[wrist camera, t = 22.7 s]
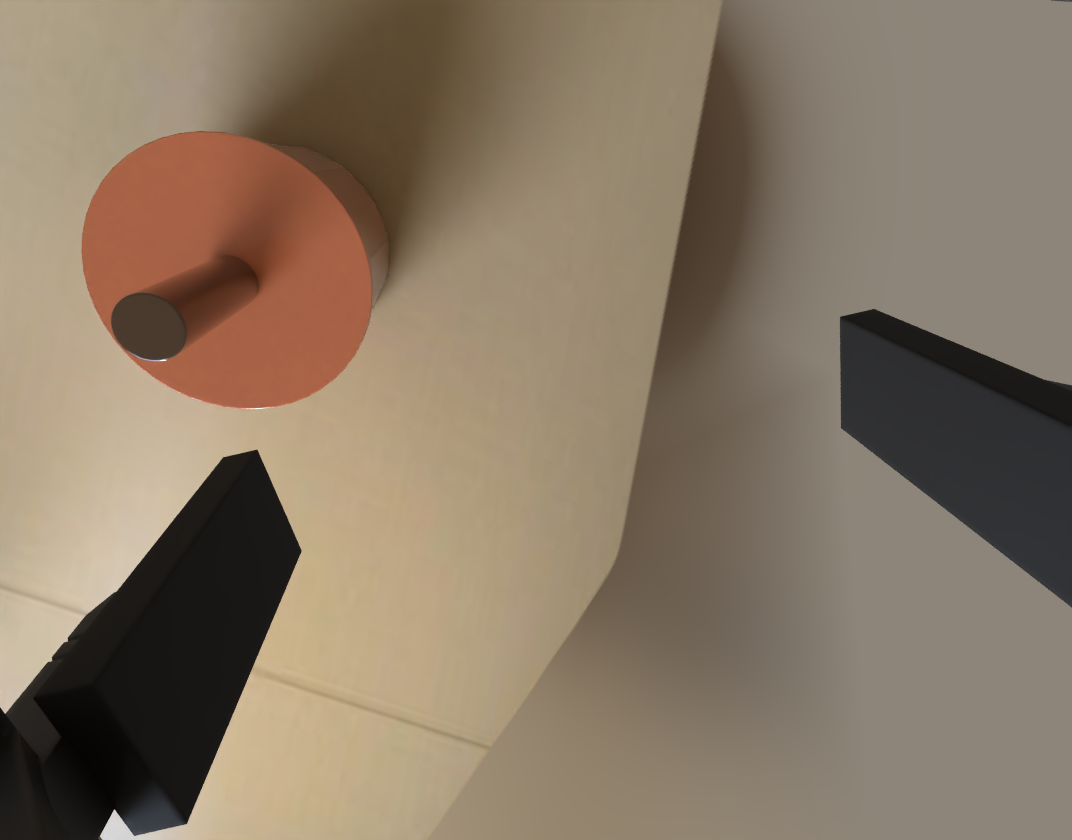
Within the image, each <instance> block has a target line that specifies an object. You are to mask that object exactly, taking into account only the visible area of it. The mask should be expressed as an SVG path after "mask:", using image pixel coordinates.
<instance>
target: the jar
mask: <svg viewBox="0 0 1072 840" xmlns="http://www.w3.org/2000/svg"><path fill="white" fill-rule="evenodd" d="M267 144H268V143H267ZM269 145H272V146H274V147H276V148H278V149H280V150H283V151H284V152H286V153H288V154H289V155H291V156H293V157H294V158H296V159H298V160H299V161H301V162H302V163H304V164H305V165H306V166H307V167H309V168H310V169H311V170H313V171H314V172H315V173H316V174H318V175H319V176H320V177H321V178H322V179H323V180H324V181H325V182H326V183H327V184H328V185H329V186H330V187H331V188H332V189H333V190H334V192H335V193H336V194H337V195H338V197H339V198H340V199H341V200H342V202H343V203H344V204H345V206H346V207H347V209H348V210H349V212H350V214H351V215H352V217H353V218H354V220H355V222H356V224H357V226H358V228H359V230H360V232H361V234H362V237H363V239H364V242H365V245H366V248H367V251H368V254H369V258H370V263H371V268H372V273H373V288H374V294H373V307H372V309H373V308H374V306H375V303H376V301H377V299H378V297H379V295H380V293H381V291H382V288H383V286H384V284H385V281H386V279H387V276H388V264H389V244H388V236H387V232H386V229H385V225H384V222H383V219H382V217H381V214H380V212H379V210H378V208H377V206H376V204H375V202H374V201H373V199H372V198H371V196H370V194H369V193H368V192H367V191H366V189H365V188H364V187H363V185H362V184H361V183H360V182H359V181H358V180H357V179H356V178H355V177H354V176H353V175H352V174H351V173H350V172H349V171H348V170H347V169H345V168H344V167H342V166H341V165H339V164H338V163H336V162H334V161H333V160H331V159H329V158H328V157H325V156H323V155H321V154H319V153H317V152H314V151H312V150H311V149H308V148H305V147H296V146H287V145H278V144H269Z"/></svg>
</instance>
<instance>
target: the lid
mask: <svg viewBox="0 0 1072 840" xmlns="http://www.w3.org/2000/svg"><path fill="white" fill-rule="evenodd" d="M82 261H83V270H84V275H85V279H86V283H87V288H88V291H89V293H90V296H91V299H92V301H93V304H94V307H95V309H96V310H97V312H98V314H99V316H100V318H101V320H102V322H103V324H104V325H105V327H106V328H107V330H108V331H109V333H110V334H111V336H112V337H113V339H114V340H115V341H116V342H117V344H118V345H119V346H120V347H121V348H122V349H123V351H124V352H125V353H126V354H127V355H128V356H129V357H130V358H131V359H132V360H133V361H134V362H135V363H136V364H137V365H139V366H140V367H141V368H142V369H143V370H145V371H146V372H147V373H149V374H150V375H151V376H152V377H154V378H155V379H157V380H158V381H160V382H161V383H163V384H165V385H166V386H168V387H170V388H171V389H173V390H175V391H178V392H180V393H182V394H184V395H186V396H188V397H191V398H194V399H197V400H199V401H202V402H205V403H209V404H213V405H218V406H222V407H229V408H238V409H262V408H271V407H277V406H281V405H285V404H289V403H293V402H295V401H298V400H300V399H303V398H306V397H308V396H310V395H311V394H313V393H315V392H317V391H319V390H320V389H322V388H323V387H325V386H326V385H327V384H329V383H330V382H331V381H333V380H334V379H335V378H336V377H337V376H338V375H339V374H340V373H341V372H342V371H343V370H344V369H345V368H346V366H347V365H348V364H349V362H350V361H351V360H352V358H353V357H354V356H355V354H356V352H357V350H358V348H359V346H360V345H361V343H362V341H363V339H364V336H365V333H366V331H367V328H368V325H369V322H370V317H371V312H372V307H373V294H374V288H373V273H372V268H371V263H370V258H369V254H368V251H367V248H366V245H365V242H364V239H363V237H362V234H361V232H360V230H359V228H358V226H357V224H356V222H355V220H354V218H353V217H352V215H351V214H350V212H349V210H348V209H347V207H346V206H345V204H344V203H343V202H342V200H341V199H340V198H339V197H338V195H337V194H336V193H335V192H334V190H333V189H332V188H331V187H330V186H329V185H328V184H327V183H326V182H325V181H324V180H323V179H322V178H321V177H320V176H319V175H318V174H316V173H315V172H314V171H313V170H311V169H310V168H309V167H307V166H306V165H305V164H304V163H302V162H301V161H299V160H298V159H296V158H294V157H293V156H291V155H289V154H288V153H286V152H284V151H283V150H280V149H278V148H276V147H274V146H272V145H269V144H267V143H265V142H262V141H259V140H256V139H252V138H249V137H246V136H242V135H236V134H230V133H225V132H205V131H198V132H187V133H179V134H175V135H171V136H167V137H163V138H160V139H157V140H155V141H152V142H150V143H148V144H145V145H143V146H141V147H140V148H138V149H136V150H135V151H133V152H132V153H130V154H128V155H127V156H126V157H125V158H123V159H122V160H121V161H120V162H119V163H118V164H117V165H115V166H114V167H113V168H112V170H111V171H110V172H109V173H108V174H107V176H106V177H105V178H104V179H103V181H102V182H101V184H100V185H99V187H98V189H97V191H96V192H95V194H94V196H93V198H92V200H91V203H90V206H89V208H88V211H87V214H86V218H85V223H84V228H83V233H82Z"/></svg>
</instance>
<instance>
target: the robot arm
mask: <svg viewBox="0 0 1072 840" xmlns="http://www.w3.org/2000/svg"><path fill="white" fill-rule="evenodd" d="M840 359H841V428H842V429H843V430H844V431H846V432H847V433H848V434H849V435H851V436H852V437H853V438H855V439H856V440H857V441H859V442H860V443H861V444H863V445H864V446H865V447H866V448H867V449H869V450H870V451H871V452H873V453H874V454H875V455H876V456H878V457H879V458H881V459H882V460H883V461H884V462H885V463H887V464H888V465H890V466H891V467H892V468H893V469H894V470H896V471H897V472H898V473H900V474H901V475H902V476H904V477H905V478H906V479H907V480H909V481H910V482H911V483H913V484H914V485H915V486H916V487H918V488H919V489H920V490H921V491H923V492H924V493H926V494H927V495H928V496H929V497H931V498H932V499H933V500H934V501H936V502H937V503H938V504H940V505H941V506H942V507H943V508H945V509H946V510H947V511H949V512H950V513H951V514H952V515H954V516H955V517H956V518H958V519H959V520H960V521H961V522H963V523H964V524H965V525H967V526H968V527H969V528H971V529H972V530H973V531H974V532H976V533H977V534H978V535H979V536H981V537H982V538H983V539H985V540H986V541H987V542H989V543H990V544H991V545H992V546H994V547H995V548H996V549H997V550H999V551H1000V552H1001V553H1003V554H1004V555H1005V556H1006V557H1008V558H1009V559H1010V560H1012V561H1013V562H1014V563H1015V564H1017V565H1018V566H1019V567H1021V568H1022V569H1023V570H1025V571H1026V572H1027V573H1028V574H1030V575H1031V576H1032V577H1033V578H1035V579H1036V580H1037V581H1039V582H1040V583H1041V584H1042V585H1044V586H1045V587H1046V588H1048V589H1049V590H1050V591H1051V592H1053V593H1054V594H1055V595H1057V596H1058V597H1059V598H1061V599H1062V600H1063V601H1064V602H1066V603H1067V604H1068V605H1070V606H1071V607H1072V386H1071V385H1067V384H1062V383H1057V382H1052V381H1047V380H1043V379H1041V378H1038V377H1036V376H1034V375H1031V374H1029V373H1026V372H1024V371H1022V370H1019V369H1017V368H1014V367H1012V366H1010V365H1007V364H1005V363H1002V362H1000V361H998V360H995V359H993V358H990V357H988V356H986V355H983V354H981V353H978V352H976V351H974V350H971V349H969V348H966V347H964V346H962V345H959V344H957V343H954V342H952V341H950V340H947V339H945V338H942V337H939V336H938V335H935V334H933V333H930V332H928V331H926V330H923V329H920V328H918V327H916V326H914V325H911V324H909V323H906V322H904V321H902V320H899V319H897V318H894V317H892V316H890V315H887V314H885V313H882V312H880V311H877V310H875V309H872V310H868V311H864V312H859V313H855V314H850V315H846V316H842V317H840ZM300 554H301V548H300V546H299V544H298V541H297V539H296V537H295V535H294V532H293V530H292V528H291V525H290V523H289V521H288V519H287V516H286V514H285V512H284V510H283V507H282V505H281V503H280V500H279V498H278V496H277V494H276V491H275V489H274V487H273V484H272V482H271V480H270V478H269V475H268V473H267V471H266V468H265V466H264V464H263V462H262V459H261V457H260V455H259V452H258V450H254V451H249V452H245V453H241V454H236V455H232V456H227V457H223V458H222V460H221V461H220V462H219V464H218V465H217V466H216V467H215V469H214V470H213V471H212V472H211V474H210V475H209V476H208V477H207V479H206V480H205V481H204V482H203V484H202V485H201V486H200V487H199V489H198V490H197V491H196V492H195V494H194V495H193V496H192V498H191V499H190V500H189V501H188V503H187V504H186V505H185V506H184V508H183V509H182V510H181V511H180V513H179V514H178V515H177V516H176V518H175V519H174V520H173V521H172V523H171V524H170V525H169V526H168V528H167V529H166V530H165V532H164V533H163V534H162V535H161V537H160V538H159V539H158V540H157V542H156V543H155V544H154V545H153V547H152V548H151V549H150V550H149V552H148V553H147V554H146V555H145V557H144V558H143V559H142V560H141V562H140V563H139V564H138V565H137V567H136V568H135V569H134V571H133V572H132V573H131V574H130V576H129V577H128V578H127V579H126V581H125V582H124V583H123V584H122V586H121V587H120V588H119V589H118V591H117V592H115V593H113V594H112V595H111V596H109V597H108V598H107V599H106V600H104V601H103V602H102V603H101V604H99V605H98V606H97V607H96V608H95V609H93V610H92V611H91V612H90V613H88V614H87V615H86V616H85V617H84V619H83V620H82V621H81V622H80V624H79V625H78V626H77V627H76V628H75V630H74V631H73V632H72V633H71V635H70V636H69V637H68V642H65V643H63V644H62V645H61V647H60V648H59V649H58V650H57V652H56V653H55V654H54V655H53V656H52V661H51V662H48V663H47V664H46V665H45V666H44V667H43V669H42V670H41V671H40V672H39V674H38V675H37V676H36V677H35V678H34V680H33V681H32V682H31V683H30V685H29V686H28V687H27V688H26V689H25V691H24V692H23V693H22V694H21V696H20V697H19V698H18V699H17V700H16V702H15V703H14V704H13V705H12V707H11V708H10V709H9V710H8V711H7V713H6V714H5V713H4V712H3V711H2V709H1V708H0V840H102V839H101V837H100V835H101V833H102V831H103V829H104V827H105V825H106V824H107V822H108V820H109V818H110V816H111V814H112V812H113V811H114V809H115V810H116V812H117V813H118V814H119V816H120V817H121V819H122V820H123V821H124V823H125V824H126V825H127V827H128V828H129V829H130V831H131V832H132V833H133V835H134V836H136V835H140V834H145V833H149V832H153V831H158V830H162V829H167V828H171V827H175V826H180V825H184V824H187V822H188V820H189V817H190V815H191V813H192V810H193V808H194V805H195V803H196V801H197V798H198V796H199V794H200V791H201V789H202V786H203V784H204V782H205V779H206V777H207V775H208V772H209V770H210V767H211V765H212V763H213V760H214V758H215V756H216V753H217V751H218V748H219V746H220V744H221V741H222V739H223V736H224V734H225V732H226V729H227V727H228V725H229V722H230V720H231V717H232V715H233V713H234V710H235V708H236V706H237V703H238V701H239V698H240V696H241V694H242V691H243V689H244V687H245V684H246V682H247V679H248V677H249V675H250V672H251V670H252V668H253V665H254V663H255V660H256V658H257V656H258V653H259V651H260V649H261V646H262V644H263V641H264V639H265V637H266V634H267V632H268V630H269V627H270V625H271V622H272V620H273V618H274V615H275V613H276V611H277V608H278V606H279V603H280V601H281V599H282V596H283V594H284V592H285V589H286V587H287V584H288V582H289V580H290V577H291V575H292V573H293V570H294V568H295V565H296V563H297V561H298V558H299V556H300Z"/></svg>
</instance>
